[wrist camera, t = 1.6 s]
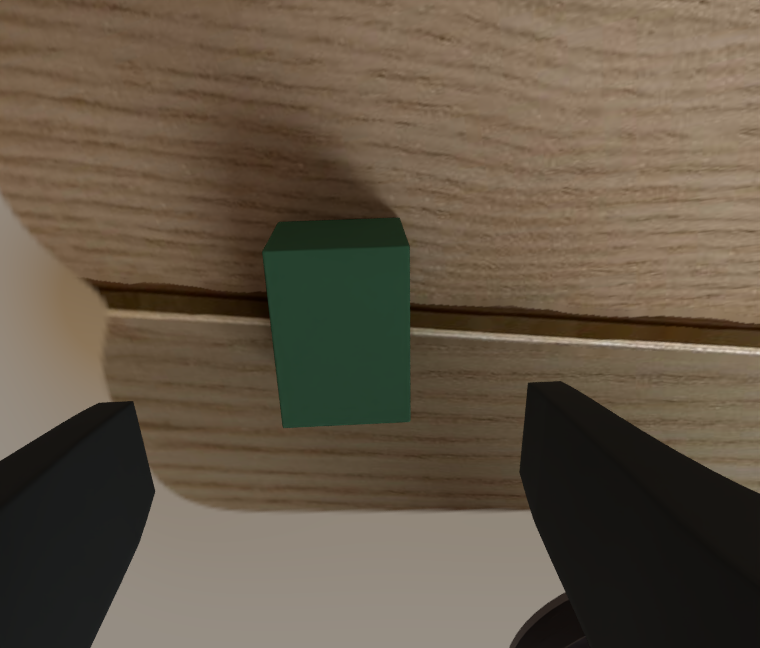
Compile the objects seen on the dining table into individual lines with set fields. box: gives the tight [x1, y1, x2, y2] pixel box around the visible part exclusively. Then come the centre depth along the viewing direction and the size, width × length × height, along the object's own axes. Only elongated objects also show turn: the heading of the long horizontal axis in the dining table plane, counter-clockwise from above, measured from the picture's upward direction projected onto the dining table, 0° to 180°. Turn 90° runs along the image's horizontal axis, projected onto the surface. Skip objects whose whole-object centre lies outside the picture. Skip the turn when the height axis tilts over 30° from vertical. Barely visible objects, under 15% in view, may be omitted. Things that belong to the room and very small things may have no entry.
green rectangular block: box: [262, 218, 411, 428], centre depth 15 cm, size 5×4×3 cm
